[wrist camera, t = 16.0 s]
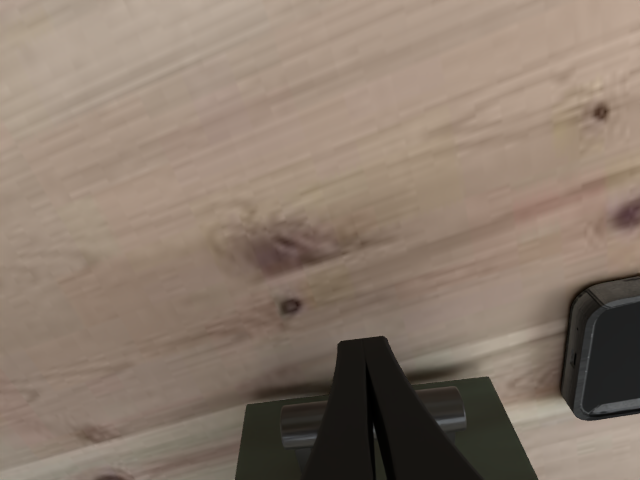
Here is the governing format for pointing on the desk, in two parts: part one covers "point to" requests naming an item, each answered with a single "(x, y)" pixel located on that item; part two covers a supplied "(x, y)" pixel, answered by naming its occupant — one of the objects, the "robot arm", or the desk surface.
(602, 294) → the phone
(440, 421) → the drawer
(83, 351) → the desk surface
